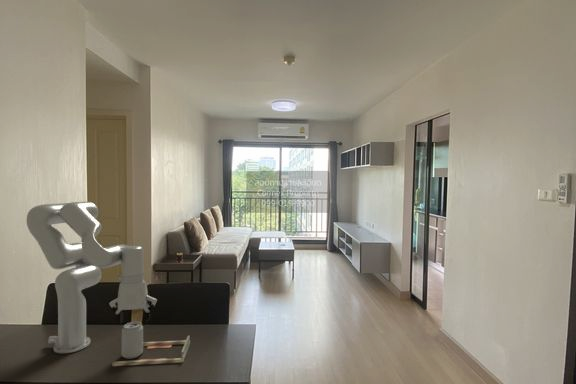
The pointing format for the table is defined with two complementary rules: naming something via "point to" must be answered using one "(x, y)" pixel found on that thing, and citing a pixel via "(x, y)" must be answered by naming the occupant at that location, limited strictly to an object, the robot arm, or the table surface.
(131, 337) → the can
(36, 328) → the table surface
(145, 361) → the tan bent flat bar
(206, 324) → the table surface
